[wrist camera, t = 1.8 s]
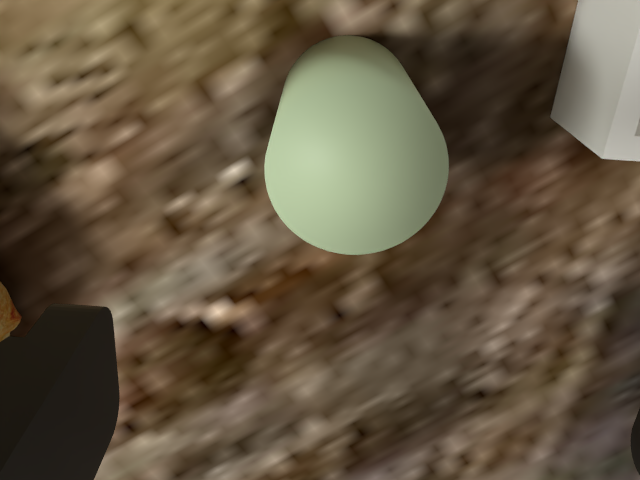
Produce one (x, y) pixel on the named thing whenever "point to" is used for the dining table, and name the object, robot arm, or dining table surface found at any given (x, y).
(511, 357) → the dining table surface
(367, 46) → the pale green egg shape
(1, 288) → the croissant
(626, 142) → the bin
